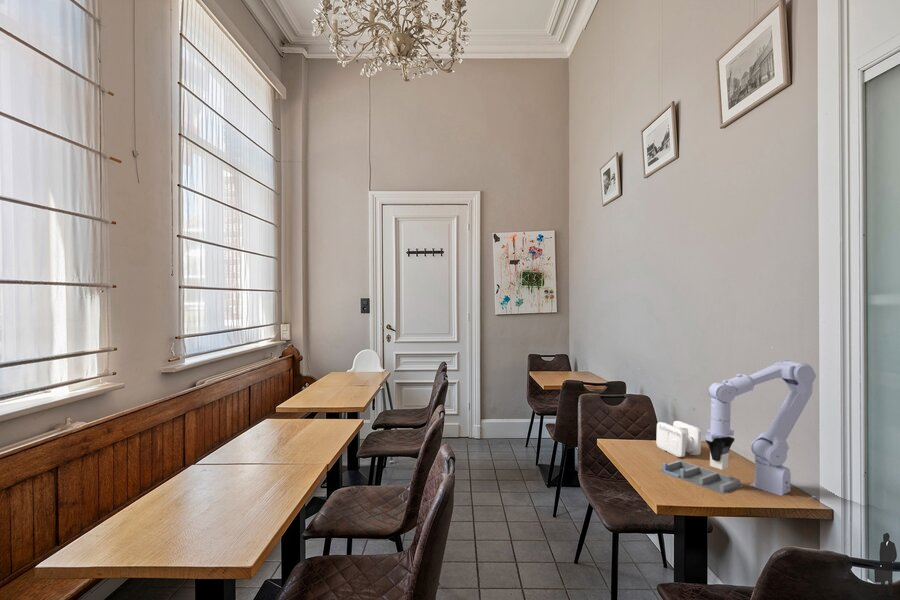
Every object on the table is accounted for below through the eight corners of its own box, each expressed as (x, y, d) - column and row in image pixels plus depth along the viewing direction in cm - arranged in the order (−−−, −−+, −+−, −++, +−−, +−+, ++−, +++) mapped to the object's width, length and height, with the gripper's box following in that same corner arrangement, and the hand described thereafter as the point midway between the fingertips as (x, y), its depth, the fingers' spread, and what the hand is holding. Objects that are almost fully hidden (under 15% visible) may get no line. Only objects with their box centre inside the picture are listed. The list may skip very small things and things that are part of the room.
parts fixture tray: (743, 487, 154) (743, 477, 154) (723, 496, 147) (723, 485, 147) (677, 465, 173) (678, 456, 173) (657, 472, 166) (657, 462, 166)
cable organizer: (702, 458, 182) (703, 429, 182) (680, 460, 179) (681, 430, 179) (675, 446, 197) (676, 419, 196) (654, 447, 194) (655, 420, 194)
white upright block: (728, 467, 154) (728, 446, 154) (722, 469, 151) (722, 448, 151) (716, 463, 157) (716, 443, 157) (709, 465, 155) (710, 445, 155)
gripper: (719, 413, 161) (718, 452, 161) (696, 418, 153) (695, 459, 154) (740, 418, 155) (739, 458, 155) (718, 424, 148) (717, 465, 148)
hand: (719, 459), depth 154 cm, fingers closed on white upright block, 4 cm apart
